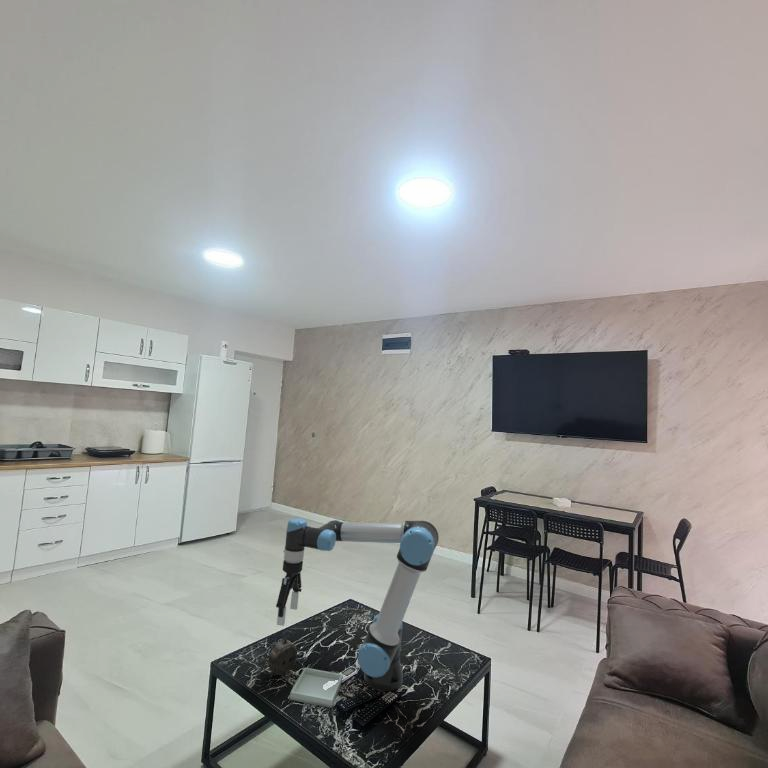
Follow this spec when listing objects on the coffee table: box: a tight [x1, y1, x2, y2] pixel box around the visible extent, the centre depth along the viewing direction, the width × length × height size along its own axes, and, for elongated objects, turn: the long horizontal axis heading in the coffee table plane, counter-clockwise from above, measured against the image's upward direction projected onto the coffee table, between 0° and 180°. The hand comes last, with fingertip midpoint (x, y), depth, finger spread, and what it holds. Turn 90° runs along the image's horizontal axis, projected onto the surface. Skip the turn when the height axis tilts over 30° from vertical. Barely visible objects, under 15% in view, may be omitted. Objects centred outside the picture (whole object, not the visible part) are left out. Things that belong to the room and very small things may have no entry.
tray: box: [289, 667, 344, 709], centre depth 152 cm, size 15×15×2 cm
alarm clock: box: [267, 630, 298, 679], centre depth 159 cm, size 11×5×16 cm, turn 137°
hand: (287, 616), depth 161 cm, fingers open, 13 cm apart
